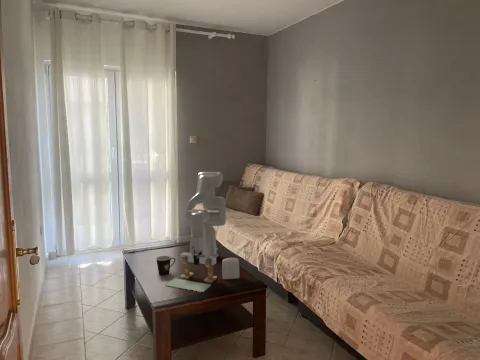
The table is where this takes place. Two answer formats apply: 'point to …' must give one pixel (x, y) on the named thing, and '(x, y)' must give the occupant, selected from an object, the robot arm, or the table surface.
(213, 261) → the steel bar
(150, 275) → the table surface
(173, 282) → the sage mat
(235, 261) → the photo printer
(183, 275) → the forked stand
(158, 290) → the table surface
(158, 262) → the coffee mug
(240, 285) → the table surface
